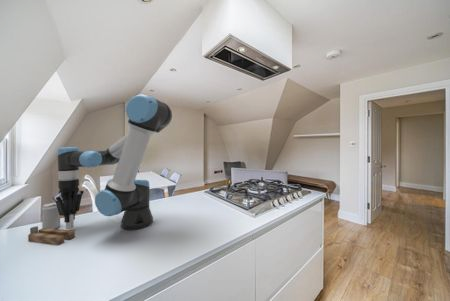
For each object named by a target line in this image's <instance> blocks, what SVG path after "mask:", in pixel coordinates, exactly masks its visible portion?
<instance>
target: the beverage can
mask: <svg viewBox="0 0 450 301" xmlns="http://www.w3.org/2000/svg"><path fill="white" fill-rule="evenodd" d="M41 226H42V227H41V229H43V228H49V229H59V227H60V226H61V216H60V215H59V212H58V209H57V206H56V202H51V203H45V204H43V205H42V208H41Z"/></svg>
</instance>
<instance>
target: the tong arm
mask: <svg viewBox="0 0 450 301" xmlns="http://www.w3.org/2000/svg"><path fill="white" fill-rule="evenodd" d="M38 233H44V234H52V235H61V236H64V240H70V239H73V238H75V237H76V236H75V233H76V232H75V229H61V228H57V229H49V228H43V229H42V228H41V229H38Z"/></svg>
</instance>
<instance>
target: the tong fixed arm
mask: <svg viewBox="0 0 450 301" xmlns="http://www.w3.org/2000/svg"><path fill="white" fill-rule="evenodd" d="M29 230H30V231H29V233H30V234H28V235H27V240H28V242H31V243H32V242H33V243H38V244H46V245H53V246H60V245H62V244H64V243H65V239H64V236H61V235H52V234H44V233H38V230H39V227H38V225H37V226H33V227H30V229H29Z"/></svg>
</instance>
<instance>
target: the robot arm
mask: <svg viewBox="0 0 450 301" xmlns="http://www.w3.org/2000/svg"><path fill="white" fill-rule="evenodd" d="M125 113H126V116H127V118H128V121H127V124H128V126H129V130H128V133H126V134H125V135H124V136H123V137H121V138H120V139H118V140H117V141H116V142H115V143H113V144H112V145H111V146H110V147H108V148H107V149H105V150H82V151H81V150H79V147H77V146H73V147H72V146H71V147H69V146H64V147H62V146H61V147H58V148H57V149H58V150H57V155H56V157H57V170H58V171H57V172H58V174H57V175H58V176H57V178H58V180H59V181H58V182H57V183H58V185H57V186H58V189H59V190H58V194H57V195H56V196H53V197H52V200H53V201H54V203H56V206H57V209H58V212H59V215H60V217H61V216H63V218H64V219H63V220H64V223H65V230H73V229H74V227H75V225H74V224H75V219H76V214H77V212H79V210H80V207H81V202H82V196H83V194H84V192H85V191H84V190H80V188H79V186H80V179H79V178H80V168H88V169H89V168H96V167H99V166H109V165H115V164H117V165H116V168H115V171H114V175H113V176H112V178H111V179H109V180H107V182H106V185H105V187H104V189H102V190H100V191H98V192H97V194H96V195H95V197H94V198H95V199H94V205H95V208H96V209H97V211H98V212H99V213H100V214H101V215H103V216H105V217H113V216H116V215H120V213H123V212H124V213H123V214H122V218H121V221H120V228H121V229H122V230H127V231H134V230H140V229H143V228H146V227H148V226H150V225H152V224H153V223H154V216H153V215H152V214H153V213H152V211H151V208H150V181H149V180H146V179H136V178H137V175H138V173H139V169H140V168H141V167H140V166H141V164H142V161H143V158H144V155H145V152H146V150H147V147H148V144H149V141H150V138H151V136H153V135H154V134H155V133H156V134H158V133H160V132H161V131H162V130H164V129H165V128H166V127H168V126H169V125H170V123H171V121H172V118H173V112H172V109H171V107H170V106H169V105H168V104H167V103H166V102H163V101H161V100H158V99H157V98H154V97H153V96H150V95H147V94H137V95H134V96H132V97H131V98H130V99H129V100H128V101H127V104H126V106H125Z"/></svg>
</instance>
